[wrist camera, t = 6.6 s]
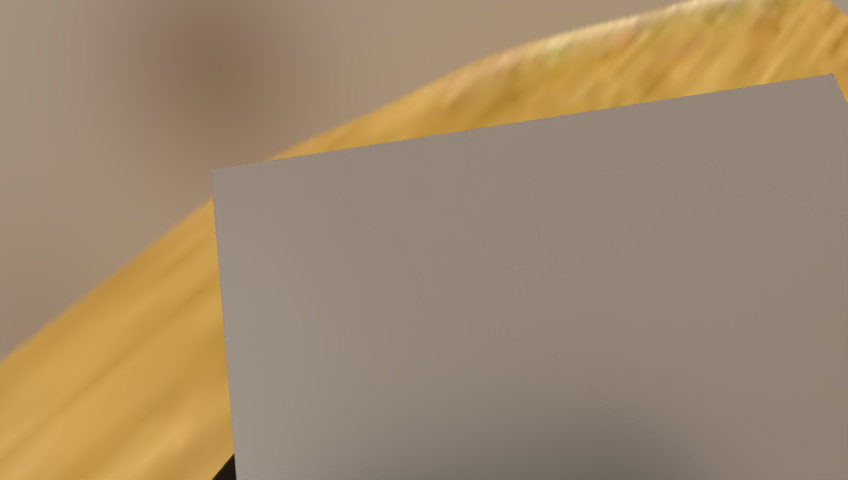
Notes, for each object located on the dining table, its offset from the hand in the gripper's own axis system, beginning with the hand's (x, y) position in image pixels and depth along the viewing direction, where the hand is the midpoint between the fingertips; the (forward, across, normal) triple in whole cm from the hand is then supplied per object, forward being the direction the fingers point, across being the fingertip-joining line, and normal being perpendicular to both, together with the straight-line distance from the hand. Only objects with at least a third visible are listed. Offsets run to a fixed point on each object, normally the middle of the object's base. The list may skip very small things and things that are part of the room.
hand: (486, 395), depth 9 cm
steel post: (+4, 0, +6) cm, 7 cm away
